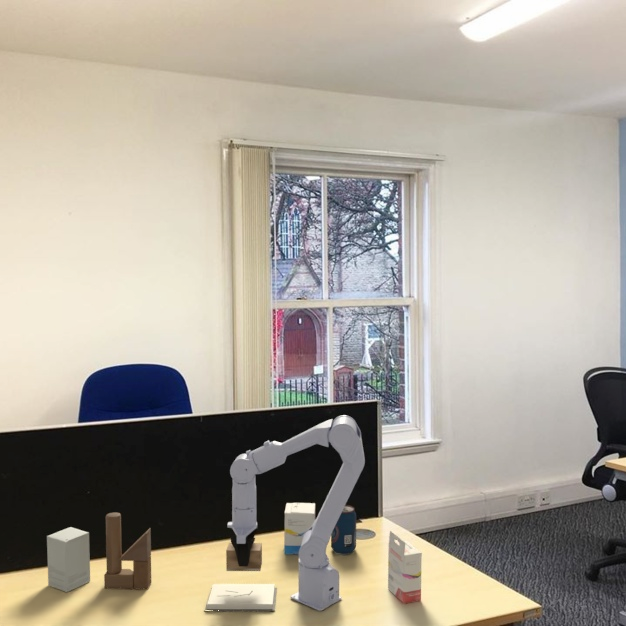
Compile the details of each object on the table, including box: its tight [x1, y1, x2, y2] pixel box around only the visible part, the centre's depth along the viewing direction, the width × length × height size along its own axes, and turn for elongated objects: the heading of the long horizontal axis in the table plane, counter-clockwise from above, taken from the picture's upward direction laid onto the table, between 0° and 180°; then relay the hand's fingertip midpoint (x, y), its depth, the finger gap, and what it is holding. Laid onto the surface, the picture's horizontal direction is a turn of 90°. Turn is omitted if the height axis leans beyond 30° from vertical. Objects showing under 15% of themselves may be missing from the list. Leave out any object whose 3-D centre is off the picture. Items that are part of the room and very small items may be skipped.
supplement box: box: [46, 526, 91, 593], centre depth 171 cm, size 7×7×13 cm
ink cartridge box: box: [387, 530, 423, 604], centre depth 166 cm, size 9×5×15 cm, turn 21°
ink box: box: [283, 502, 316, 555], centre depth 193 cm, size 9×8×12 cm
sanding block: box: [225, 542, 263, 572], centre depth 165 cm, size 8×4×5 cm, turn 89°
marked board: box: [204, 583, 278, 613], centre depth 163 cm, size 16×11×2 cm
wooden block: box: [103, 511, 152, 590], centre depth 170 cm, size 4×11×18 cm, turn 88°
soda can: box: [330, 504, 357, 556], centre depth 191 cm, size 7×7×12 cm
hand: (244, 561), depth 165 cm, fingers closed on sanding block, 4 cm apart
